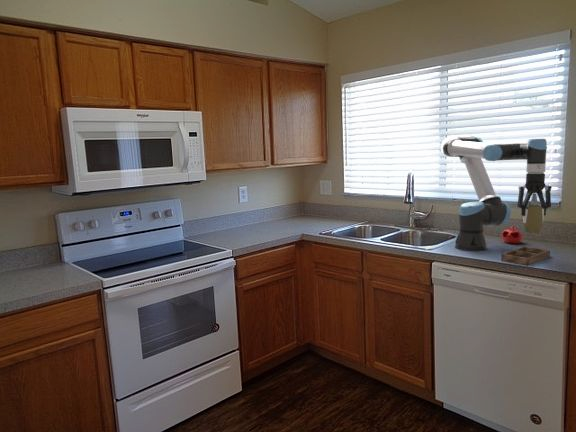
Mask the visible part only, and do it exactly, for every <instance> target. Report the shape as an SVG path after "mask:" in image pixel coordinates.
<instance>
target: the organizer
mask: <svg viewBox="0 0 576 432" xmlns="http://www.w3.org/2000/svg"><path fill="white" fill-rule="evenodd" d="M549 257H551V250H550V249H544V248H537V247H531V246H521V247H518V248H515V249H512V250H509V251H507V252H504V253H501V259H500V260H501V261H502V262H507V263H512V264H519V265H525V266H530V265H532V264H535V263H538V262H540V261H543V260H545V259H547V258H549Z"/></svg>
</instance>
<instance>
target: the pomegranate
mask: <svg viewBox="0 0 576 432" xmlns="http://www.w3.org/2000/svg"><path fill="white" fill-rule="evenodd" d="M515 227H516V226H515V225H512V227H510V228H509V227H507V228H505V229H504V230H503V231H502V232H501V237H502V240H503V242H504V243H505V244H519V243H520V242H522V240H523V237H524V235H523V233H522V232H521V231H520V229H519V227H517V228H515Z"/></svg>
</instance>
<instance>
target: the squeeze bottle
mask: <svg viewBox="0 0 576 432" xmlns="http://www.w3.org/2000/svg"><path fill="white" fill-rule="evenodd" d="M530 199H531V200H529V202H528V205H527V207H526V209H528V214H527V220H526V223H524V222H523V227H524V230H525V232H527V233H531V234H538V233H540V232H541V230H542V228H543V226H544V220H543V218H542V207H541V204H540V200H539V201H538V195H537V193H533V194H532V195H531V198H530Z"/></svg>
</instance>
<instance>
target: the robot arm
mask: <svg viewBox="0 0 576 432" xmlns="http://www.w3.org/2000/svg"><path fill="white" fill-rule="evenodd" d="M440 149H441V152H442V153H443V154H444V155H445V157H446V156H447V157H450V158H451V157H452V158H459V160H460V162H461V163H462V164H465V168H466V171H467V172H468V175H469V178H470V181H471V183H472V185H473V188H474V192H475V193H476V196H477V198H478V201H469V202H465V203H462V204H461V205H460V206H459V211H458V214H459V217H458V221H459V223H458V226H459V227H458V234H457V237H456V240H455V242H454V247H455V248H456V249H457V250H462V251H470V252H471V251H472V252H473V251H477V252H478V251H484V250H486V249H487V242H486V241H487V240H486V238H485V234H484V228H485V227H494V226H496V227H497V226H502V225H506V224H507V223H508V222H509V221H510V218H511V215H512V209H511V207H510V205H509V204H508V203H507V202H503V200H502V199H501V196H498V195H496V191H495V189H494V187H493V184H492V182H491V179H490V178H489V175H488V172H487V170H486V167H485V165H484V163H483V160H482V159H484V160H485V161H488V162H496V161H499V162H500V161H517V160H518V161H519V160H524V161H525V160H526V174H525V184H524V185H519V186H518V197H517V198H518V199H517V205H516V206H517V208H519V209H521V216H522V222H523V223H526V220H527V214H528V209H526V207H527V206H529V205H528V203H529V201H531V200H530V199H531V198H532V196H533V194H536V196H537V198H538V200H539V202H540V206H541V207H542V218H543V221H544V218H545V217H546V213H547V209H548V208H551V207H552V199H551V198H552V197H551V190H552V188H553V187H552V185H547V184H546V183H545V181H546V173H545V172H546V165H547V164H546V161H547V149H548V147H547V139H545V138H530V139H528V140H527V143H505V144H504V143H503V144H502V143H488V142H487V143H486V142H484V141H483V140H482V138H481V137H479V136H478V135H474V134H467V135H450V136H448V137H446V138H445V139H444V140H443V141H442V142H441V147H440ZM525 190H526V193H525ZM543 190H544V191H545V192H544V193H545V194H544V193H543ZM525 194H526V195H525ZM524 195H525V196H524ZM544 195H545V197H544ZM544 216H545V217H544Z"/></svg>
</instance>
